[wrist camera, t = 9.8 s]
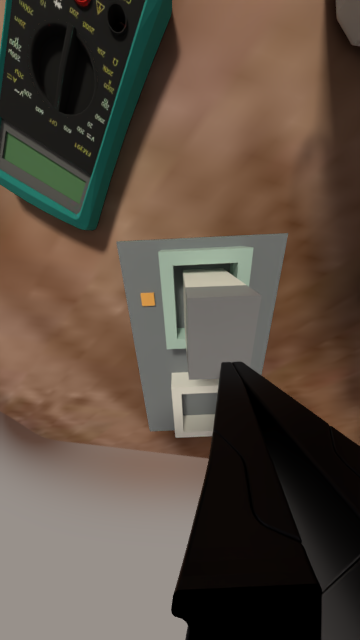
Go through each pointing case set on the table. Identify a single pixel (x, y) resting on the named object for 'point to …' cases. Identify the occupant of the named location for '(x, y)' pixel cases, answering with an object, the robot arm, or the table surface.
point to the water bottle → (349, 19)
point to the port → (169, 258)
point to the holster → (191, 423)
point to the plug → (217, 321)
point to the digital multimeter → (71, 97)
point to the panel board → (149, 316)
